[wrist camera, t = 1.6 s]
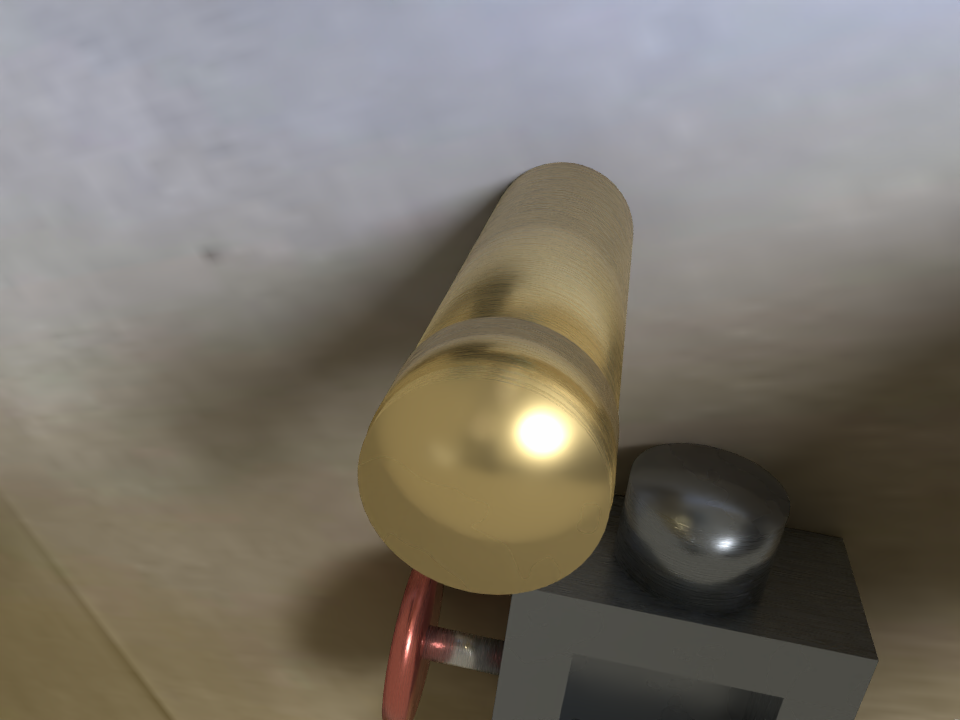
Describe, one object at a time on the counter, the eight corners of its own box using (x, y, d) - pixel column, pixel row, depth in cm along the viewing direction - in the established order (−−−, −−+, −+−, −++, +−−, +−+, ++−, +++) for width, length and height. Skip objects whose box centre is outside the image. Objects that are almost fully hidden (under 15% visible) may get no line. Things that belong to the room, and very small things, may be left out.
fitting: (500, 150, 29) (361, 353, 15) (647, 173, 28) (636, 403, 15) (484, 286, 31) (349, 568, 17) (620, 309, 30) (589, 619, 17)
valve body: (446, 390, 33) (400, 492, 27) (868, 468, 31) (915, 593, 25) (410, 726, 40) (369, 861, 34) (747, 802, 39) (762, 956, 33)
